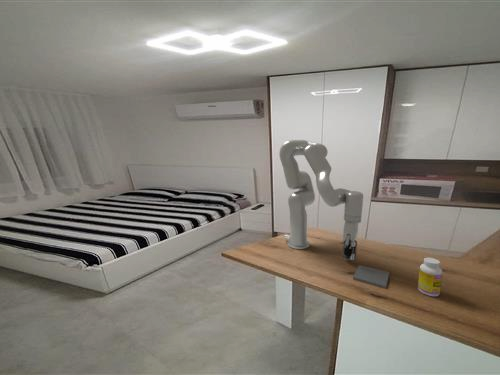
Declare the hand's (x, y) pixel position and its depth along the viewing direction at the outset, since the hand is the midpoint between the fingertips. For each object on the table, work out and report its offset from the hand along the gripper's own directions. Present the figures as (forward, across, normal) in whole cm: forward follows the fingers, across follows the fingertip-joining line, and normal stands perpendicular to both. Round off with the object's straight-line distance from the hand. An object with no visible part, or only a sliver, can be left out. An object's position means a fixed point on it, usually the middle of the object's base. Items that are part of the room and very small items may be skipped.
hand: (349, 252), depth 111 cm
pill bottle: (+3, 0, 0) cm, 3 cm away
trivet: (+4, +9, +11) cm, 15 cm away
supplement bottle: (+3, +9, +31) cm, 32 cm away
